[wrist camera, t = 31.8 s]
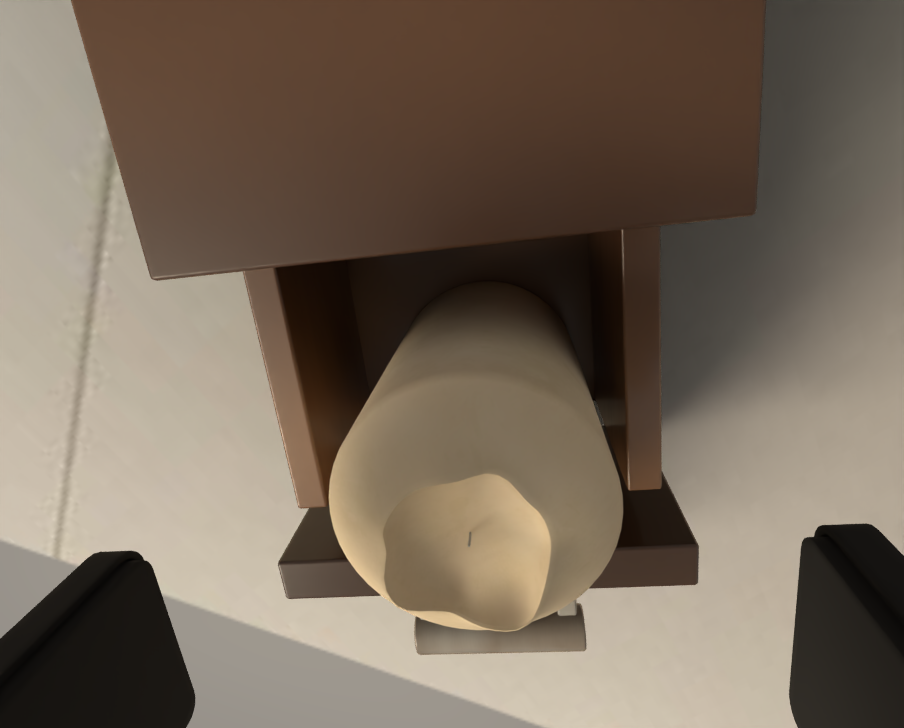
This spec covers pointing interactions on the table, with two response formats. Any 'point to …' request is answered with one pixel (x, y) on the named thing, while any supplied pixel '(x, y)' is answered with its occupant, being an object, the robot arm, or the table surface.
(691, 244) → the table surface
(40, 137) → the table surface
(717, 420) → the table surface
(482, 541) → the candle
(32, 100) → the table surface
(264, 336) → the drawer
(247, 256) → the cabinet
